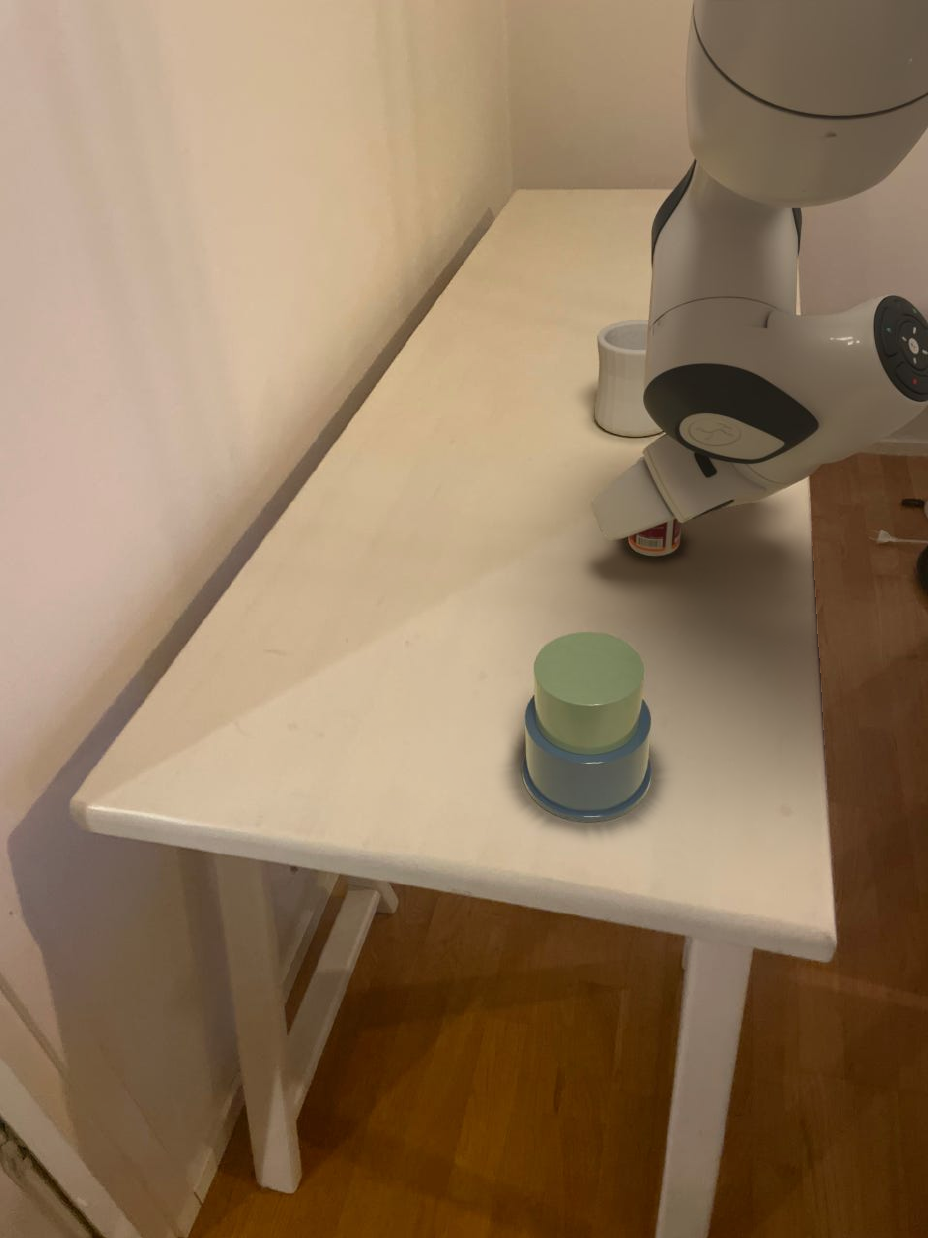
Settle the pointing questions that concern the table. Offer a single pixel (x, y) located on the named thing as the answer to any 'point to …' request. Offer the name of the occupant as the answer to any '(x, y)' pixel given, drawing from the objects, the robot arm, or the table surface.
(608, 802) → the cup stack
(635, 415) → the mug
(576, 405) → the table surface
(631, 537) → the pill bottle
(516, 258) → the table surface
